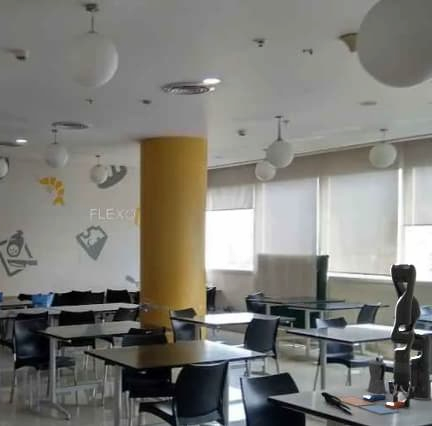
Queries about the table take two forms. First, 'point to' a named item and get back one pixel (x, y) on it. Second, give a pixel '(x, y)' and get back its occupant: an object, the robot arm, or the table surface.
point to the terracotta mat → (355, 401)
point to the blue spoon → (374, 397)
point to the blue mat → (379, 409)
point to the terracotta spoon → (395, 405)
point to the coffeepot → (377, 376)
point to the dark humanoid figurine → (335, 402)
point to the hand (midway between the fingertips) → (401, 405)
